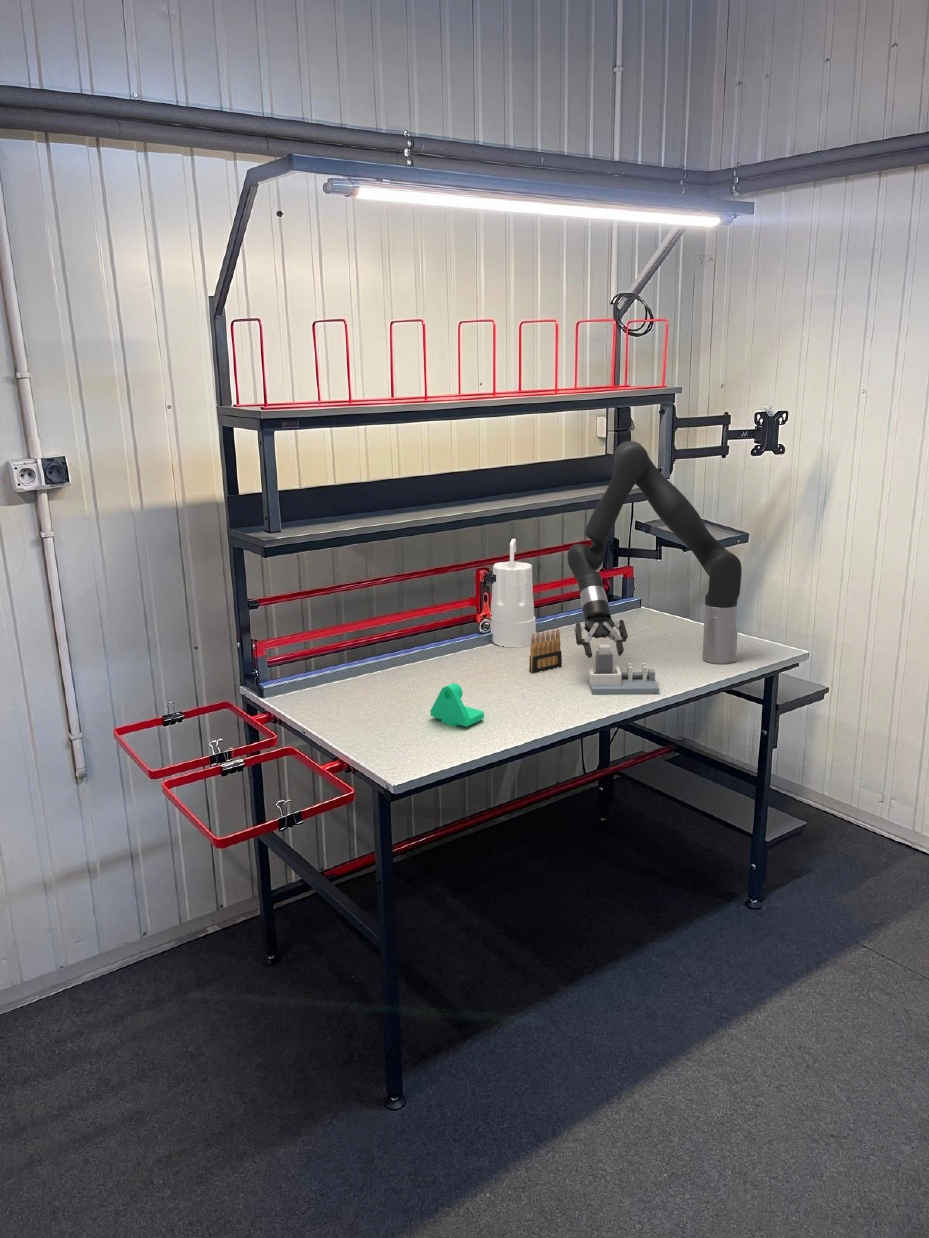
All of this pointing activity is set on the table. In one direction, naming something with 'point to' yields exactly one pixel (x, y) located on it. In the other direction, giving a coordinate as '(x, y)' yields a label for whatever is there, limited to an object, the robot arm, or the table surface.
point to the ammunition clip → (545, 652)
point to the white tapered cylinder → (512, 603)
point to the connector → (604, 660)
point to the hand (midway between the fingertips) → (605, 655)
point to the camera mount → (454, 708)
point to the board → (623, 681)
